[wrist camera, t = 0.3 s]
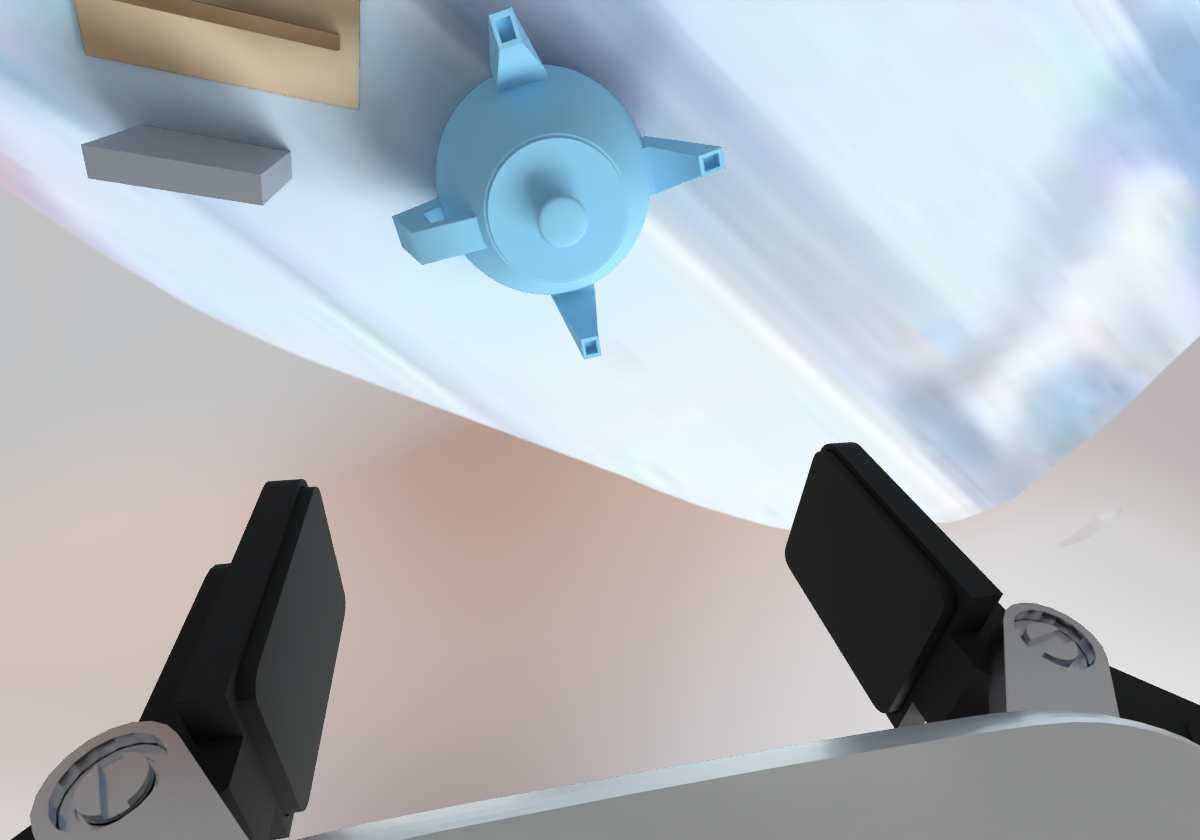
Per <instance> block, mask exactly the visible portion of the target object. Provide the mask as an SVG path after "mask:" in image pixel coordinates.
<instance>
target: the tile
mask: <svg viewBox="0 0 1200 840" xmlns="http://www.w3.org/2000/svg"><path fill="white" fill-rule="evenodd" d="M81 146H82V151H83V156H84V161H85V165H86V170H87V175H88V178H90V179H97V180H103V181H110V182H116V183H122V184H129V185H135V186H142V187H148V188H154V189H161V190H167V191H174V192H180V193H186V194H193V195H199V196H206V197H212V198H218V199H225V200H231V201H238V202H244V203H250V204H257V205H264V204H265V203H266V202H267V201H268V200H269V199H270V198H271V197H272V196H273V195H274V194H276V193H277V192H278V191H279V190H280V189H281V188H282V187H283V186H284V185H285V184H286V183H287V182H288V181H289V180H290V179H291V178H292V171H291V152H290V151H285V150H279V149H274V148H268V147H263V146H257V145H252V144H246V143H241V142H235V141H229V140H224V139H218V138H213V137H207V136H202V135H196V134H191V133H185V132H180V131H174V130H169V129H163V128H157V127H152V126H146V125H139V126H136V127H133V128H130V129H127V130H124V131H121V132H118V133H115V134H112V135H109V136H106V137H103V138H100V139H97V140H94V141H91V142H88V143H85V144H82V145H81Z"/></svg>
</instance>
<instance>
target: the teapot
mask: <svg viewBox="0 0 1200 840" xmlns="http://www.w3.org/2000/svg"><path fill="white" fill-rule="evenodd" d="M488 28H489V62H490V71H491V74H492V77H491V78H489V79H487V80H485V81H484V82H482V83H481V84H480V85H478V86H477V87H475V88H474V89H473V90H472V91H471V92H470V93H469V94H468V95H467V96H466V97H465V98H464V99H463V100H462V101H461V102H460V104H459V105H458V106H457V108H456V109H455V110H454V112H453V113H452V115H451V117H450V119H449V121H448V122H447V124H446V127H445V129H444V132H443V134H442V137H441V140H440V144H439V148H438V152H437V160H436V189H437V195H438V198H436V199H434V200H432V201H429V202H427V203H424V204H422V205H419V206H417V207H414V208H412V209H409V210H407V211H405V212H402V213H400V214H397V215H395V216H392V218H393V221H394V224H395V227H396V230H397V233H398V236H399V239H400V242H401V245H402V247H403V248H404V249H405V250H406V251H407V252H408V253H410V254H411V255H412V256H413V257H414V258H415V259H416V260H417V261H418V262H419V263H420V264H422V265H424V264H428V263H432V262H436V261H440V260H443V259H447V258H451V257H455V256H459V255H462V254H465V256H466V257H467V258H468V259H469V260H470V261H471V262H472V263H473V264H474V265H475V266H476V267H477V268H479V269H480V270H481V271H482V272H484V273H485V274H486V275H487V276H489V277H490V278H492V279H494V280H495V281H497V282H499V283H501V284H503V285H505V286H507V287H509V288H512V289H515V290H519V291H522V292H527V293H533V294H548V295H550V294H551V296H552V298H553V300H554V302H555V304H556V305H557V307H558V309H559V311H560V313H561V315H562V317H563V319H564V321H565V323H566V325H567V327H568V329H569V331H570V333H571V334H572V336H573V338H574V340H575V342H576V344H577V346H578V348H579V350H580V352H581V354H582V356H583V358H584V359H588V358H593V357H597V356H601V349H600V343H599V336H598V330H597V316H596V301H595V289H594V282H597V281H598V280H600V279H601V278H603V277H604V276H606V275H607V274H608V273H610V272H611V271H612V270H613V269H614V268H616V267H617V265H618V264H619V263H620V262H621V261H622V260H623V259H624V258H625V257H626V255H627V254H628V252H629V251H630V250H631V248H632V247H633V245H634V243H635V241H636V240H637V238H638V236H639V234H640V231H641V229H642V226H643V224H644V221H645V217H646V214H647V209H648V203H649V196H650V195H654V194H657V193H660V192H663V191H665V190H668V189H670V188H673V187H675V186H678V185H680V184H682V183H685V182H687V181H690V180H692V179H695V178H698V177H704V176H706V175H709V174H712V173H714V172H717V171H719V170H722V169H725V164H724V157H723V150H722V147H719V146H712V145H705V144H698V143H691V142H683V141H676V140H669V139H662V138H655V137H648V136H644V137H641V136H640V134H639V131H638V129H637V127H636V125H635V123H634V121H633V119H632V118H631V116H630V115H629V113H628V112H627V110H626V109H625V107H624V106H623V105H622V104H621V103H620V102H619V101H618V99H617V98H616V97H615V96H614V95H613V94H612V93H610V92H609V91H608V90H607V89H606V88H605V87H603V86H602V85H601V84H599V83H598V82H596V81H595V80H593V79H591V78H590V77H588V76H586V75H584V74H582V73H579V72H577V71H575V70H571V69H568V68H565V67H561V66H554V65H543V64H542V62H541V60H540V59H539V57H538V55H537V53H536V51H535V50H534V48H533V46H532V44H531V42H530V41H529V39H528V37H527V35H526V33H525V31H524V29H523V28H522V26H521V24H520V22H519V20H518V18H517V17H516V15H515V13H514V11H513V9H512V7H511V8H508V9H505V10H502V11H499V12H496V13H493V14H490V15H488Z"/></svg>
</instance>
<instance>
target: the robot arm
mask: <svg viewBox="0 0 1200 840" xmlns="http://www.w3.org/2000/svg"><path fill="white" fill-rule="evenodd" d="M785 558H786V562H787V564H788V566H789V568H790V570H791V571H792V573H793V575H794V576H795V578H796V579H797V581H798V583H799V584H800V586H801V588H802V589H803V591H804V593H805V594H806V596H807V598H808V599H809V601H810V602H811V604H812V606H813V607H814V609H815V610H816V612H817V614H818V615H819V617H820V619H821V620H822V622H823V623H824V625H825V627H826V628H827V630H828V632H829V633H830V635H831V636H832V638H833V640H834V641H835V643H836V644H837V646H838V648H839V649H840V651H841V652H842V654H843V656H844V657H845V659H846V661H847V662H848V664H849V666H850V667H851V669H852V671H853V672H854V674H855V675H856V677H857V679H858V680H859V682H860V684H861V685H862V687H863V688H864V690H865V692H866V693H867V695H868V697H869V698H870V700H871V701H872V703H873V705H874V706H875V707H876V708H877V709H878V710H879V711H880V712H882V713H886V715H887V716H888V718H889V719H890V721H891V723H892V724H893V726H894V729H889V730H883V731H877V732H871V733H865V734H859V735H853V736H847V737H841V738H835V739H829V740H823V741H818V742H812V743H806V744H800V745H795V746H788V747H782V748H777V749H771V750H765V751H760V752H753V753H748V754H742V755H736V756H730V757H725V758H719V759H713V760H708V761H702V762H696V763H691V764H685V765H679V766H673V767H668V768H662V769H656V770H651V771H645V772H639V773H634V774H628V775H623V776H616V777H611V778H605V779H600V780H594V781H589V782H583V783H578V784H572V785H566V786H561V787H556V788H550V789H544V790H539V791H533V792H528V793H522V794H516V795H511V796H505V797H500V798H494V799H489V800H483V801H478V802H472V803H466V804H462V805H456V806H451V807H446V808H441V809H437V810H431V811H426V812H421V813H416V814H411V815H406V816H401V817H396V818H391V819H386V820H380V821H375V822H370V823H365V824H361V825H356V826H352V827H347V828H343V829H339V830H335V831H331V832H327V833H323V834H319V835H315V836H311V837H307V838H303V839H298V840H1200V705H1198V704H1196V703H1193V702H1191V701H1189V700H1186V699H1184V698H1181V697H1179V696H1177V695H1175V694H1173V693H1170V692H1168V691H1166V690H1163V689H1161V688H1159V687H1156V686H1154V685H1152V684H1149V683H1147V682H1145V681H1143V680H1140V679H1138V678H1136V677H1133V676H1131V675H1129V674H1126V673H1124V672H1122V671H1119V670H1117V669H1115V668H1113V667H1110V666H1109V664H1108V659H1107V656H1106V654H1105V652H1104V649H1103V647H1102V646H1101V644H1100V643H1099V642H1098V641H1097V639H1096V638H1095V637H1094V636H1093V635H1092V634H1091V633H1090V632H1089V631H1088V630H1086V629H1085V628H1084V627H1083V626H1082V625H1081V624H1079V623H1078V622H1076V621H1075V620H1073V619H1072V618H1070V617H1069V616H1067V615H1065V614H1063V613H1061V612H1059V611H1056V610H1054V609H1052V608H1049V607H1046V606H1042V605H1038V604H1034V603H1019V604H1014V605H1011V606H1010V607H1009V608H1008V609H1007V610H1005V609H1004V608H1003V607H1002V606H1001V605H1000V604H999V603H998V601H999V600H1000V598H1001V596H1002V595H1003V593H1002V592H1000V590H999V589H998V588H997V587H996V586H995V585H994V584H993V583H992V582H991V581H990V580H989V579H988V578H987V577H986V576H985V575H984V574H983V573H982V572H981V571H980V570H979V569H978V567H977V566H976V565H975V564H974V563H973V562H972V561H971V560H970V559H969V558H968V557H967V556H966V555H965V554H964V553H963V552H962V551H961V550H960V549H959V548H958V547H957V546H956V545H955V544H954V543H953V542H952V541H951V540H950V539H949V537H947V536H946V535H945V533H944V532H943V531H942V530H941V529H940V528H939V527H938V526H937V525H936V524H935V523H934V522H933V521H932V520H931V519H930V518H929V517H928V516H927V515H926V514H925V513H924V512H923V511H922V510H921V509H920V507H919V506H918V505H917V504H916V503H915V502H914V501H913V500H912V499H911V498H910V497H909V496H908V495H907V494H906V493H905V492H904V491H903V490H902V489H901V488H900V487H899V486H898V485H897V484H896V483H895V482H894V481H893V480H892V479H891V477H890V476H889V475H888V474H887V473H886V472H885V471H884V470H883V469H882V468H881V467H880V466H879V465H878V464H877V463H876V462H875V461H874V460H873V459H872V458H871V457H870V456H869V455H868V454H867V453H866V452H865V451H864V450H863V449H862V447H861V446H859V445H858V444H857V443H853V442H848V443H833V444H826V445H824V446H823V448H822V449H821V451H820V452H817V453H816V454H815V456H814V458H813V461H812V464H811V467H810V470H809V474H808V477H807V480H806V483H805V487H804V490H803V493H802V496H801V499H800V503H799V506H798V509H797V512H796V516H795V519H794V522H793V525H792V528H791V532H790V535H789V538H788V541H787V545H786V549H785ZM344 615H345V594H344V590H343V585H342V582H341V577H340V573H339V569H338V565H337V560H336V556H335V552H334V548H333V544H332V539H331V535H330V531H329V527H328V523H327V519H326V514H325V510H324V506H323V502H322V498H321V493H320V490H319V488H317V487H308V485H307V483H306V481H305V480H303V479H298V480H282V481H268V482H267V483H265V485H264V487H263V489H262V492H261V494H260V496H259V499H258V501H257V503H256V506H255V508H254V510H253V513H252V515H251V518H250V520H249V522H248V524H247V527H246V529H245V531H244V534H243V536H242V539H241V541H240V543H239V546H238V548H237V550H236V553H235V555H234V558H233V560H232V562H231V563H229V564H218V565H215V566H214V567H212V568H211V569H210V571H209V572H208V574H207V575H206V577H205V579H204V581H203V584H202V586H201V588H200V590H199V592H198V594H197V597H196V599H195V601H194V603H193V605H192V608H191V610H190V612H189V614H188V616H187V618H186V620H185V623H184V625H183V627H182V629H181V631H180V634H179V636H178V638H177V640H176V642H175V644H174V647H173V649H172V651H171V653H170V655H169V657H168V660H167V662H166V664H165V666H164V668H163V670H162V673H161V675H160V677H159V679H158V681H157V683H156V686H155V688H154V690H153V692H152V694H151V696H150V699H149V701H148V703H147V705H146V707H145V709H144V712H143V714H142V716H141V718H140V720H139V722H132V723H128V724H125V725H122V726H119V727H115V728H112V729H109V730H107V731H106V732H104V733H102V734H100V735H98V736H96V737H94V738H92V739H90V740H88V741H87V742H85V743H84V744H83V745H81V746H80V747H79V748H77V749H76V750H75V751H74V752H72V753H71V754H69V755H68V756H67V757H66V758H65V759H64V760H63V761H62V762H61V763H60V764H59V765H58V766H57V767H56V768H55V769H54V770H53V771H52V772H51V773H50V774H49V776H48V777H47V779H46V780H45V782H44V784H43V785H42V787H41V788H40V790H39V791H38V793H37V795H36V797H35V801H34V804H33V807H32V810H31V814H30V818H31V825H30V826H29V827H28V828H26V829H25V830H24V831H22V832H21V833H20V834H18V835H17V836H16V837H14V838H13V839H11V840H275V839H281V838H287V837H289V834H290V830H291V825H292V820H293V815H294V813H295V812H300V811H304V810H305V809H306V807H307V804H308V801H309V797H310V791H311V786H312V781H313V776H314V771H315V766H316V760H317V755H318V749H319V744H320V740H321V735H322V729H323V724H324V719H325V714H326V708H327V703H328V698H329V693H330V688H331V683H332V678H333V673H334V667H335V662H336V657H337V652H338V647H339V641H340V636H341V631H342V626H343V621H344ZM925 721H926V722H927V723H925ZM924 723H925V724H924Z"/></svg>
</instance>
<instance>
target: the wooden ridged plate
mask: <svg viewBox="0 0 1200 840" xmlns="http://www.w3.org/2000/svg"><path fill="white" fill-rule="evenodd" d="M75 4H76V10H77V15H78V20H79V25H80V30H81V35H82V40H83V45H84V51H85V55H88V56H93V57H98V58H103V59H108V60H113V61H118V62H123V63H128V64H133V65H138V66H142V67H147V68H152V69H157V70H162V71H167V72H172V73H177V74H182V75H187V76H192V77H197V78H201V79H206V80H211V81H216V82H221V83H226V84H231V85H236V86H241V87H246V88H251V89H256V90H260V91H265V92H270V93H275V94H280V95H285V96H290V97H295V98H300V99H305V100H310V101H314V102H319V103H324V104H329V105H334V106H339V107H344V108H349V109H354V110H359V44H360V0H75Z"/></svg>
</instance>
